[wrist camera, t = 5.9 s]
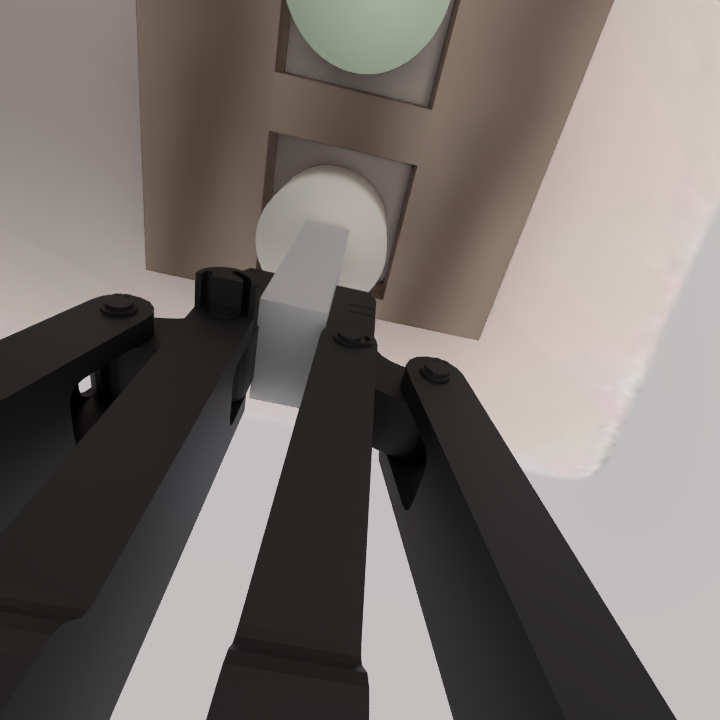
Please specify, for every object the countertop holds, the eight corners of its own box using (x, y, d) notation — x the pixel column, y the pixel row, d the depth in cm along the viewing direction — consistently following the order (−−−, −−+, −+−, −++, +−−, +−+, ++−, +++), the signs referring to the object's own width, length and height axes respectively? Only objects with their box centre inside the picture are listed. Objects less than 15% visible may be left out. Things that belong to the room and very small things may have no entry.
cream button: (267, 267, 21) (249, 294, 18) (279, 152, 18) (262, 165, 16) (372, 290, 21) (370, 320, 18) (399, 180, 18) (401, 197, 16)
